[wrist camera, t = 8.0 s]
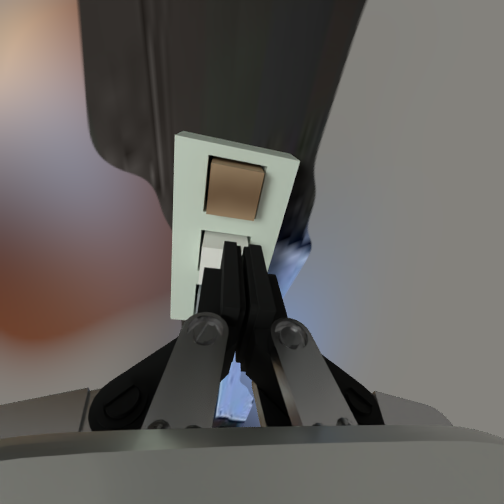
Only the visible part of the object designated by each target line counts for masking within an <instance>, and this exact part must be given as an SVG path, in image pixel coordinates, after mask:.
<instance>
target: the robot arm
mask: <svg viewBox="0 0 504 504" xmlns="http://www.w3.org/2000/svg"><path fill="white" fill-rule="evenodd" d="M235 353H236V362H237V363H241V371H244V372H246V375H247V376H248V377H249V378H250V379H251V380H252V389H253V394H254V398H255V403H256V407H257V412H258V416H259V421H260V425H261V427H235V428H211V427H212V422H213V416H214V411H215V405H216V400H217V394H218V389H219V383H220V382H221V381H222V380H223V379H224V378H225V377H226V376H227V375H228V374H229V370H230V366H231V362H232V361H233V358H234V354H235ZM0 504H504V439H503V438H501V437H498V436H495V435H492V434H489V433H486V432H482V431H479V430H475V429H469V428H463V427H455V426H453V425H452V424H451V422H450V421H449V420H448V419H447V418H446V417H445V416H444V415H443V414H442V413H440V412H439V411H438V410H436V409H435V408H433V407H431V406H428V405H425V404H422V403H418V402H414V401H410V400H406V399H403V398H399V397H396V396H392V395H388V394H384V393H381V392H377V391H374V392H373V393H370V392H369V391H368V390H367V389H366V388H365V387H364V386H363V385H361V384H360V383H359V382H357V381H356V380H355V379H353V378H352V377H351V376H349V375H348V374H347V373H346V372H344V371H343V370H342V369H340V368H339V367H338V366H336V365H335V364H334V363H332V362H331V361H329V360H328V359H327V358H326V357H324V356H323V355H322V354H321V353H320V351H319V349H318V347H317V345H316V343H315V341H314V339H313V337H312V335H311V333H310V332H309V330H308V329H307V328H306V327H305V326H304V325H303V324H302V323H300V322H299V321H297V320H294V319H291V318H288V317H287V313H286V310H285V306H284V303H283V299H282V295H281V292H280V288H279V285H278V281H277V278H276V275H273V274H268V273H267V268H266V264H265V260H264V255H263V251H262V247H261V245H254V244H249V245H248V247H245V246H244V248H243V253H241V246H237V242H230V241H224V247H223V253H222V260H221V266H220V269H217V268H207V267H204V272H203V279H202V285H201V292H200V298H199V305H198V311H197V313H196V314H194V315H192V316H190V317H189V318H188V319H187V320H186V321H185V323H184V324H183V326H182V329H181V331H180V334H179V336H178V337H177V338H176V339H174V340H173V341H171V342H170V343H168V344H167V345H165V346H164V347H162V348H161V349H159V350H157V351H156V352H155V353H153V354H151V355H150V356H148V357H147V358H145V359H144V360H142V361H141V362H139V363H138V364H136V365H135V366H133V367H132V368H130V369H129V370H127V371H126V372H124V373H123V374H121V375H119V376H118V377H116V378H115V379H113V380H112V381H110V382H109V383H108V384H107V385H105V386H104V387H103V388H101V389H96V390H91V391H90V390H89V388H84V389H79V390H74V391H69V392H63V393H59V394H53V395H49V396H44V397H39V398H34V399H28V400H23V401H18V402H13V403H8V404H4V405H0Z"/></svg>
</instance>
